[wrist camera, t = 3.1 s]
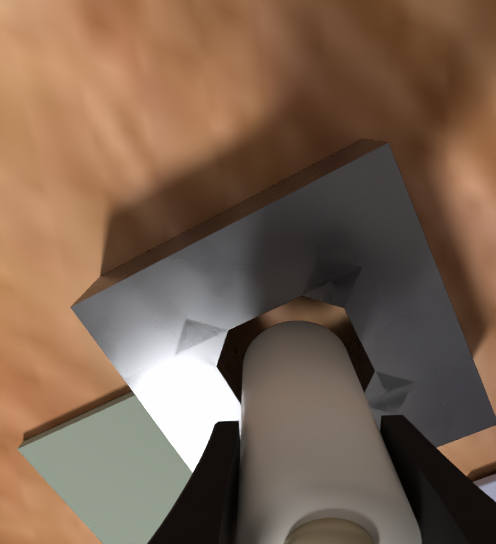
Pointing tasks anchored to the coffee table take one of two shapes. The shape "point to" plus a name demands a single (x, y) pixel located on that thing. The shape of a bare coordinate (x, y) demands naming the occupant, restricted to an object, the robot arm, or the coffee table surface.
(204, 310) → the housing
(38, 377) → the coffee table surface
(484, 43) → the coffee table surface
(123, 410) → the mat
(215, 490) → the robot arm
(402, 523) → the plug
